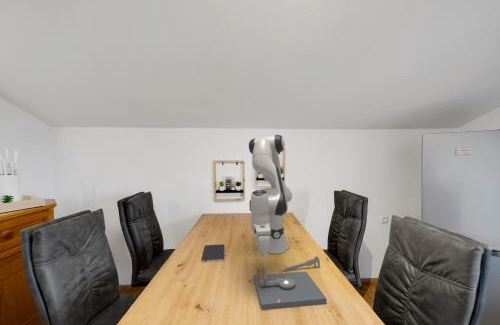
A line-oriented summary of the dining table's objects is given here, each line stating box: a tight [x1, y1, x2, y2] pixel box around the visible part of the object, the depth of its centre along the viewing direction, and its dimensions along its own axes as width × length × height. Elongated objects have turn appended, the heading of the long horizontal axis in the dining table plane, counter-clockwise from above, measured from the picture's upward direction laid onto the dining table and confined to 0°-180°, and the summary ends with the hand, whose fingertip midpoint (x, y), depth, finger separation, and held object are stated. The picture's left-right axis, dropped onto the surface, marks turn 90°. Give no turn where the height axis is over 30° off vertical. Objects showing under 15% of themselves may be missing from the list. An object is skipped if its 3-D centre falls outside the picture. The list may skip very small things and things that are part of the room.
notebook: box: [200, 243, 225, 263], centre depth 133 cm, size 13×2×21 cm
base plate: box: [253, 271, 328, 311], centre depth 95 cm, size 21×26×2 cm
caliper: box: [282, 255, 321, 272], centre depth 113 cm, size 20×1×6 cm, turn 101°
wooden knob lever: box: [260, 267, 295, 289], centre depth 95 cm, size 15×8×7 cm, turn 97°
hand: (261, 255), depth 101 cm, fingers closed
